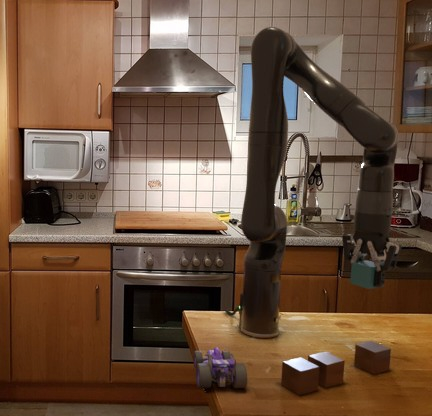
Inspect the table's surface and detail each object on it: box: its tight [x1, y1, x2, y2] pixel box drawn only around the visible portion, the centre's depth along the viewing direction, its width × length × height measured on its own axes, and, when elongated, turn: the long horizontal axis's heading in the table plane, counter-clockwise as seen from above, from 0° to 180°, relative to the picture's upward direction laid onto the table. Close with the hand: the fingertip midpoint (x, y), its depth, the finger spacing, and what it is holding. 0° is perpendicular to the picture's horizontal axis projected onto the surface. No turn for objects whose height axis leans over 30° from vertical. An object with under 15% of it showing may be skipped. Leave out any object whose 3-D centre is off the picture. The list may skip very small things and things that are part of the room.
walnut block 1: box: [280, 356, 319, 396], centre depth 106 cm, size 5×5×5 cm
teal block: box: [349, 259, 385, 290], centre depth 120 cm, size 5×5×5 cm
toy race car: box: [192, 347, 248, 389], centre depth 111 cm, size 10×15×6 cm, turn 1°
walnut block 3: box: [353, 340, 392, 376], centre depth 115 cm, size 5×5×5 cm
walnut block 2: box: [307, 351, 345, 389], centre depth 109 cm, size 5×5×5 cm
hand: (367, 283), depth 120 cm, fingers closed on teal block, 5 cm apart
